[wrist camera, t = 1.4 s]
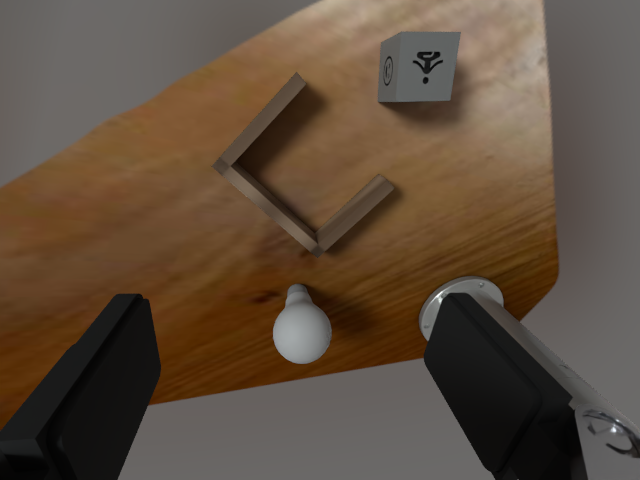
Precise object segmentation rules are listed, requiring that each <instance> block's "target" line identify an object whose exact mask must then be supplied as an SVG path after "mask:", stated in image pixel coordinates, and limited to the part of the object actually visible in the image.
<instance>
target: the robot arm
mask: <svg viewBox="0 0 640 480" xmlns="http://www.w3.org/2000/svg"><path fill="white" fill-rule="evenodd" d="M419 327H420V330H421V332H422V334H423V335H424V337H425V338H426V340H428V344H427V347H426V350H425V353H424V362H425V365H426V367H427V368H428V370H429V372H430V374H431V375H432V377H433V379H434V381H435V382H436V384H437V386H438V388H439V389H440V391H441V393H442V395H443V396H444V398H445V400H446V402H447V403H448V405H449V407H450V409H451V410H452V412H453V414H454V416H455V417H456V419H457V420H458V422H459V424H460V426H461V428H462V429H463V431H464V433H465V435H466V436H467V438H468V440H469V441H470V443H471V445H472V447H473V449H474V450H475V452H476V454H477V455H478V457H479V459H480V460H481V462H482V464H483V466H484V467H485V468H486V469H487V470H488V471H490V472H491V473H492V474H493V476H494V478H495V480H517V479H519V480H640V429H639V428H638V427H637V426H636V425H635V424H634V423H632V422H631V421H630V420H629V419H628V418H626V417H625V416H624V415H623V414H622V413H621V412H620V411H618V410H617V409H616V408H615V407H614V406H613V405H611V404H610V403H609V402H608V401H607V400H606V399H604V398H603V397H602V396H601V395H600V394H599V393H598V392H597V391H595V390H594V389H593V388H592V387H591V386H590V385H589V384H588V383H587V382H585V381H584V380H583V379H582V378H581V377H579V375H578V374H576V373H575V372H574V371H573V370H572V369H571V368H570V367H569V366H568V365H566V364H565V363H564V362H563V361H562V360H561V359H560V358H559V357H558V356H556V355H555V354H554V353H553V352H552V351H551V350H550V349H549V348H548V347H546V346H545V345H544V344H543V343H542V342H541V341H540V340H539V339H538V338H536V337H535V336H534V335H533V334H532V333H531V332H530V331H529V330H527V328H525V327H524V326H523V325H522V324H521V323H520V322H519V321H518V320H517V319H515V318H514V317H513V316H512V315H511V314H510V313H509V312H508V311H507V310H505V309H504V308H503V296H502V293H501V291H500V289H499V288H498V287H497V286H496V285H495V284H494V283H492V282H491V281H489V280H488V279H485V278H483V277H478V276H466V277H461V278H457V279H455V280H452V281H450V282H448V283H446V284H444V285H442V286H441V287H440V288H438V289H437V290H436V291H435V292H434V293H433V294H431V295H430V297H429V298H428V299H427V300H426V302H425V303H424V305H423V307H422V309H421V312H420V315H419ZM160 372H161V364H160V358H159V353H158V347H157V342H156V336H155V331H154V325H153V319H152V314H151V308H150V303H149V300H148V299H143V297H142V295H141V294H116V295H115V296H114V297H113V298H112V300H111V301H110V302H109V303H108V305H107V306H106V307H105V308H104V310H103V311H102V312H101V313H100V314H99V316H98V317H97V318H96V319H95V321H94V322H93V323H92V324H91V326H90V327H89V328H88V329H87V331H86V332H85V333H84V334H83V335H82V337H81V338H80V339H79V340H78V342H77V343H76V344H74V345H72V346H71V347H70V348H69V349H68V350H67V351H66V352H65V353H64V355H63V356H62V357H61V358H60V360H59V361H58V362H57V363H56V364H55V366H54V367H53V368H52V369H51V370H50V372H49V373H48V374H47V375H46V377H45V378H44V379H43V380H42V381H41V383H40V384H39V385H38V386H37V387H36V389H35V390H34V391H33V392H32V393H31V395H30V396H29V397H28V398H27V400H26V401H25V402H24V403H23V404H22V406H21V407H20V408H19V409H18V410H17V412H16V413H15V414H14V415H13V417H12V418H11V419H10V420H9V421H8V423H7V424H6V425H5V426H4V427H3V429H2V430H1V431H0V480H117V479H118V477H119V474H120V472H121V470H122V467H123V465H124V462H125V459H126V457H127V455H128V453H129V450H130V447H131V445H132V443H133V440H134V438H135V436H136V433H137V431H138V428H139V425H140V423H141V421H142V419H143V416H144V414H145V411H146V409H147V406H148V404H149V401H150V399H151V397H152V394H153V392H154V389H155V387H156V384H157V382H158V380H159V377H160Z"/></svg>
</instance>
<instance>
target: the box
mask: <svg viewBox="0 0 640 480" xmlns="http://www.w3.org/2000/svg"><path fill="white" fill-rule="evenodd" d="M305 85H306V82H305V81H304V80H303V79H302V78H301V76H300V75H299V74H298V73H297V72H296V73H295V74H294V75H293V77H292V78H291V79H290V80H289V81H288V82H287V83H286V84H285V85H284V86H283V88H282V89H281V90H280V91H279V92H278V93H277V94H276V95H275V96H274V98H273V99H272V100H271V101H270V102H269V103H268V104H267V105H266V106H265V108H264V109H263V110H262V111H261V112H260V113H259V114H258V115H257V116H256V118H255V119H254V120H253V121H252V122H251V123H250V124H249V125H248V126H247V127H246V129H245V130H244V131H243V132H242V133H241V134H240V135H239V136H238V137H237V139H236V140H235V141H234V142H233V143H232V144H231V145H230V146H229V147H228V149H227V150H226V151H225V152H224V153H223V154H222V155H221V156H220V157H219V159H218V160H217V161H216V162H215V163H214V164H213V165H212V167H213V168H214V169H215V170H216V171H218V172H219V173H220V174H221V175H222V176H223V177H224V178H226V179H227V180H228V181H229V182H230V183H231V184H233V185H234V186H235V187H236V188H237V189H238V190H240V191H241V192H242V193H243V194H244V195H245V196H246V197H248V198H249V199H250V200H251V201H252V202H253V203H255V204H256V205H257V206H258V207H259V208H260V209H262V210H263V211H264V212H265V213H266V214H267V215H268V216H270V217H271V218H272V219H273V220H274V221H275V222H277V223H278V224H279V225H280V226H281V227H282V228H283V229H285V230H286V231H287V232H288V233H289V234H290V235H292V236H293V237H294V238H295V239H296V240H297V241H299V242H300V243H301V244H302V245H303V246H304V247H305V248H307V249H308V250H309V251H310V252H311V253H312V254H314V255H315V256H316V257H317V258H318V257H319V256H320V255H321V254H323V253H324V252H325V251H326V250H327V249H328V248H329V247H330V246H331V245H333V244H334V243H335V242H336V241H337V240H338V239H339V238H340V237H341V236H342V235H344V234H345V233H346V232H347V231H348V230H349V229H350V228H351V227H352V226H353V225H355V224H356V223H357V222H358V221H359V220H360V219H361V218H362V217H363V216H365V215H366V214H367V213H368V212H369V211H370V210H371V209H372V208H373V207H374V206H376V205H377V204H378V203H379V202H380V201H381V200H382V199H383V198H384V197H386V196H387V195H388V194H389V193H390V192H391V191H392V190H393V189H394V187H393V186H392V185H391V183H390V182H389V181H388V180H387V179H385V178H384V177H382V176H381V175H380V174H378V175H377V176H376V177H374V178H373V179H372V180H371V181H370V182H369V183H368V184H367V185H366V186H365V187H364V188H363V189H362V190H361V191H359V192H358V193H357V194H356V195H355V196H354V197H353V198H352V199H351V200H350V201H349V202H348V203H347V204H346V205H344V206H343V207H342V208H341V209H340V210H339V211H338V212H337V213H336V214H335V215H334V216H333V217H332V218H331V219H329V220H328V221H327V222H326V223H325V224H324V225H323V226H322V227H321V228H320V229H319V230H318V231H317V232H315V233H314V232H313V231H311V230H310V229H309V228H308V227H307V226H306V225H305V224H304V223H303V222H302V221H300V220H299V219H298V218H297V217H296V216H295V215H294V214H293V213H292V212H291V211H289V210H288V209H287V208H286V207H285V206H284V205H283V204H282V203H281V202H280V201H278V200H277V199H276V198H275V197H274V196H273V195H272V194H271V193H270V192H269V191H267V190H266V189H265V188H264V187H263V186H262V185H261V184H260V183H259V182H258V181H256V180H255V179H254V178H253V177H252V176H251V175H250V174H249V173H248V172H247V171H245V170H244V169H243V168H242V167H241V166H240V165H239V164H238V163H237V162H236V160H237V159H238V158H239V156H240V155H241V154H242V153H243V152H244V151H245V150H246V149H247V148H248V147H249V146H250V144H251V143H252V142H253V141H254V140H255V139H256V138H257V137H258V136H259V135H260V134H261V133H262V131H263V130H264V129H265V128H266V127H267V126H268V125H269V124H270V123H271V122H272V121H273V120H274V118H275V117H276V116H277V115H278V114H279V113H280V112H281V111H282V110H283V109H284V108H285V106H286V105H287V104H288V103H289V102H290V101H291V100H292V99H293V98H294V97H295V96H296V95H297V93H298V92H299V91H300V90H301V89H302V88H303V87H304V86H305Z"/></svg>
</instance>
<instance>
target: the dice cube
mask: <svg viewBox="0 0 640 480" xmlns="http://www.w3.org/2000/svg"><path fill="white" fill-rule="evenodd" d="M460 34H461V32H400V33H398V34H396V35H394V36H393V37H391V38H389V39H387V40H385V41H383V42H381V50H380V68H379V85H378V102H416V101H450V98H451V92H452V85H453V79H454V72H455V66H456V60H457V53H458V47H459V40H460Z"/></svg>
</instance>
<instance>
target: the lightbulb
mask: <svg viewBox="0 0 640 480" xmlns="http://www.w3.org/2000/svg"><path fill="white" fill-rule="evenodd" d="M331 331H332V330H331V324H330V321H329V319H328V317H327V316H326V314H325V313H324V312H323V311H322V310H321V309H320V308H319V307H317V306H316V305H314V304H313V303H312V300H311V297H310V296H309V294H308V291H307V289H306V287H305V286H304V285H301V284H295V285H292V286H291V287H290V288H289V289H288V294H287V300H286V307H285V309H284V310H283V311H282V312H281V313H280V315H279V316H278V317H277V319H276V321H275V325H274V328H273V339H274V342H275V346H276V348H277V349H278V351H279V353H280V354H281V355H282V356H283V357H284V358H286V359H287V360H289V361H292V362H294V363H299V364H305V363H310V362H313V361H315V360H317V359H318V358H319V357H321V356H322V355H323V354H324V352H325V351H326V349H327V348H328V346H329V344H330V340H331Z"/></svg>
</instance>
